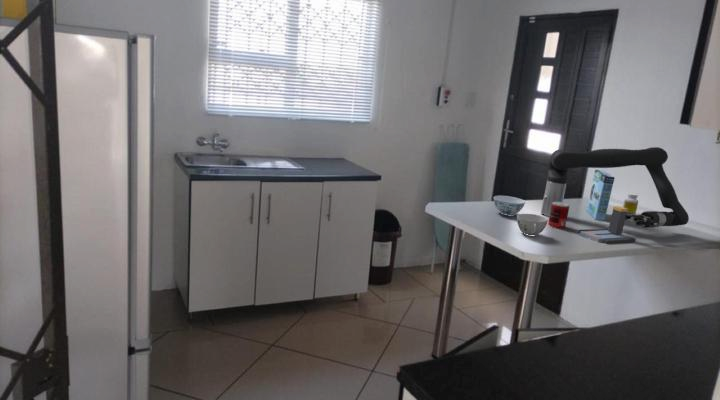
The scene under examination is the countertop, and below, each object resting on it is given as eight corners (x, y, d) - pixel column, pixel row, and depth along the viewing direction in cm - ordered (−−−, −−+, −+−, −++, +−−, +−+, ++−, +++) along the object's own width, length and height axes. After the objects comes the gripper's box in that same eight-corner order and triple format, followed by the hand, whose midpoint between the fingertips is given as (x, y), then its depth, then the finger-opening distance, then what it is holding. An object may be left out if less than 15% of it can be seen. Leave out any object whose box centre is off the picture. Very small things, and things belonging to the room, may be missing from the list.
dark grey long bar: (632, 241, 231) (633, 238, 230) (635, 242, 230) (635, 239, 229) (603, 242, 223) (604, 239, 223) (606, 243, 222) (606, 240, 222)
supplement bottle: (636, 220, 273) (641, 196, 269) (622, 218, 274) (628, 194, 271) (632, 216, 279) (637, 193, 276) (619, 215, 280) (624, 192, 277)
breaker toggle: (614, 231, 237) (619, 206, 234) (622, 233, 233) (627, 208, 230) (607, 231, 235) (613, 206, 232) (615, 234, 231) (621, 209, 229)
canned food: (564, 225, 246) (569, 203, 243) (565, 229, 238) (570, 206, 236) (547, 222, 248) (552, 200, 245) (547, 226, 241) (552, 203, 238)
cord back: (606, 231, 243) (607, 228, 243) (608, 232, 242) (609, 229, 242) (578, 232, 236) (578, 229, 235) (580, 233, 234) (581, 230, 234)
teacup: (512, 228, 231) (515, 211, 229) (541, 232, 230) (544, 215, 228) (517, 238, 217) (520, 220, 215) (548, 242, 215) (551, 224, 213)
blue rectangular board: (614, 232, 242) (614, 229, 241) (632, 239, 233) (633, 236, 232) (579, 234, 232) (580, 231, 232) (597, 241, 224) (598, 238, 223)
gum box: (585, 210, 282) (594, 169, 277) (595, 212, 282) (604, 170, 276) (594, 219, 264) (604, 175, 258) (605, 221, 263) (615, 177, 258)
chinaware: (485, 212, 256) (487, 197, 254) (502, 209, 266) (504, 194, 264) (511, 220, 246) (514, 204, 244) (528, 216, 256) (531, 201, 254)
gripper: (641, 207, 248) (617, 207, 241) (668, 215, 235) (644, 216, 229) (637, 222, 250) (613, 223, 243) (664, 231, 237) (640, 232, 230)
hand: (628, 220), depth 236 cm, fingers open, 8 cm apart
